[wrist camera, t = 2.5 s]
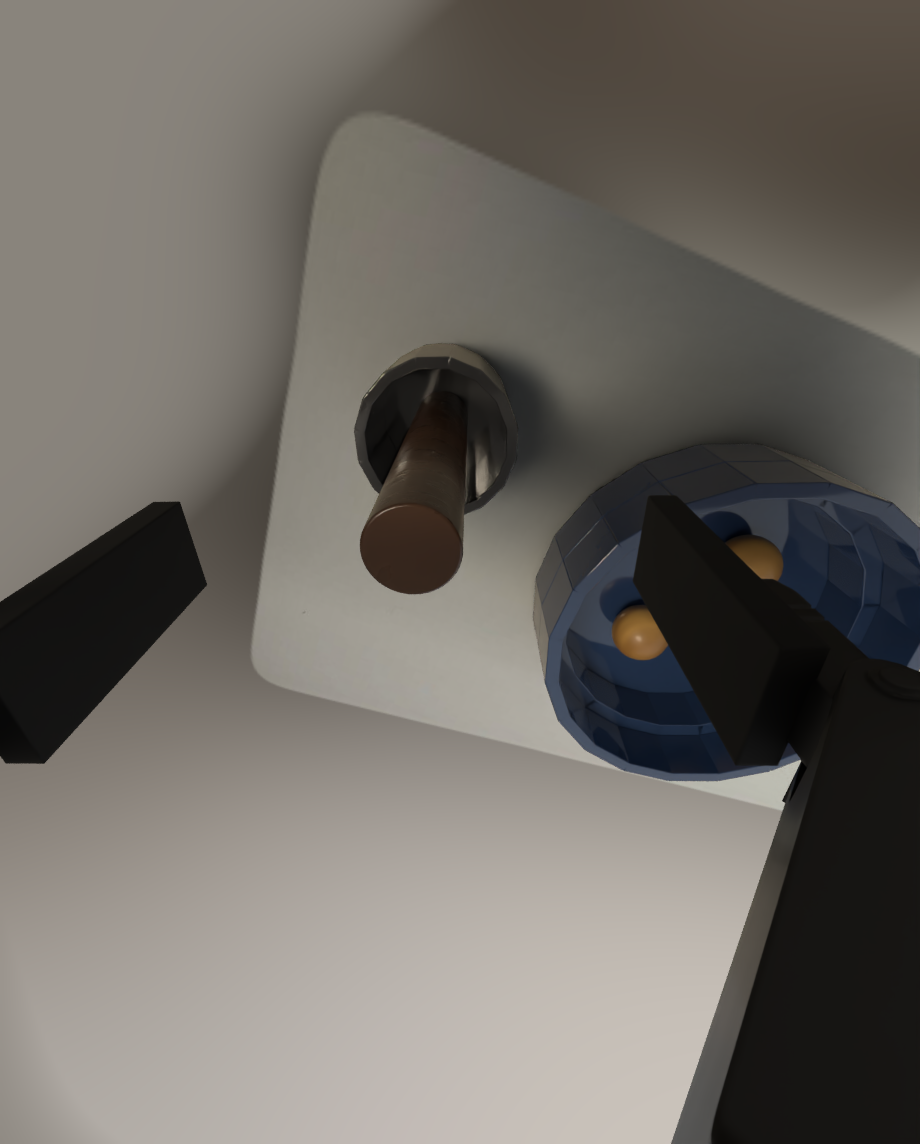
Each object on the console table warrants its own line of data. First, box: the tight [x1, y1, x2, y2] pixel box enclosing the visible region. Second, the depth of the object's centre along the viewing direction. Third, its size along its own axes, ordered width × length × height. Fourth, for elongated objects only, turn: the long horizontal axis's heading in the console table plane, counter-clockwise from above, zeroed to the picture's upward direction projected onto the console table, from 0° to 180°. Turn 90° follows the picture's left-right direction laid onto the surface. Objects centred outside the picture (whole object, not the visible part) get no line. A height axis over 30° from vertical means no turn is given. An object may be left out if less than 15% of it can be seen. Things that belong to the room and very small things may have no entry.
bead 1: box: [612, 605, 668, 660], centre depth 32 cm, size 4×4×4 cm
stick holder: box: [354, 343, 518, 515], centre depth 25 cm, size 7×7×6 cm
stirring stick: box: [360, 391, 468, 594], centre depth 20 cm, size 3×3×16 cm
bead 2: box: [725, 535, 783, 581], centre depth 29 cm, size 4×4×4 cm
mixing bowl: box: [533, 444, 920, 781], centre depth 30 cm, size 21×21×7 cm
